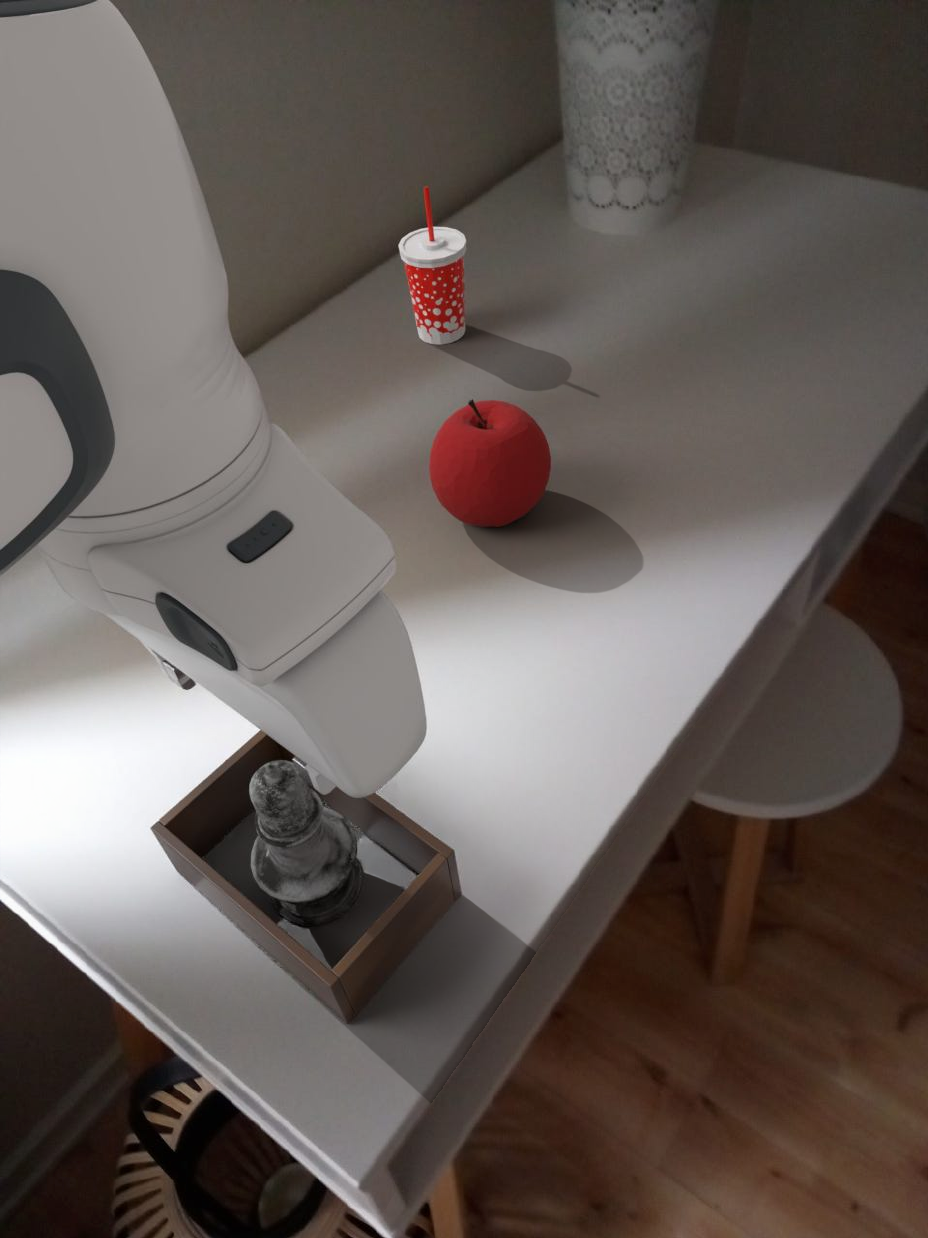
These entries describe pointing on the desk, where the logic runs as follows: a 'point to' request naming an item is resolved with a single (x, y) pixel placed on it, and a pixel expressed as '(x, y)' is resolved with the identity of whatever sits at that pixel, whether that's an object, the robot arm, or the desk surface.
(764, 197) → the desk surface
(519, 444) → the apple
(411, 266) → the beverage cup
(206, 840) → the open wooden box
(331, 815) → the grey stone turned piece
